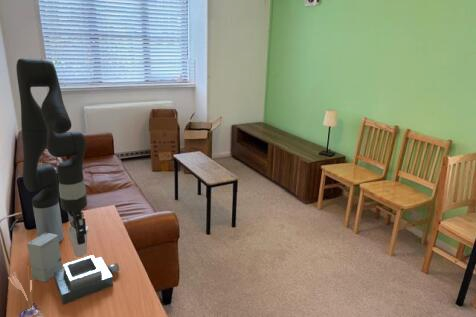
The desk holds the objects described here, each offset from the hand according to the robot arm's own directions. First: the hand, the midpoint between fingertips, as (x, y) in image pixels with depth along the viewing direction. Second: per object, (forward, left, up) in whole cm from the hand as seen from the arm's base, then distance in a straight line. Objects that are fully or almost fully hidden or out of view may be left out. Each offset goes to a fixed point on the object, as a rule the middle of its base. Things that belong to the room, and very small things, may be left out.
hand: (78, 238), depth 113 cm
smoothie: (0, 0, -6) cm, 6 cm away
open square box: (0, +2, -19) cm, 19 cm away
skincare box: (-12, -9, -19) cm, 24 cm away
